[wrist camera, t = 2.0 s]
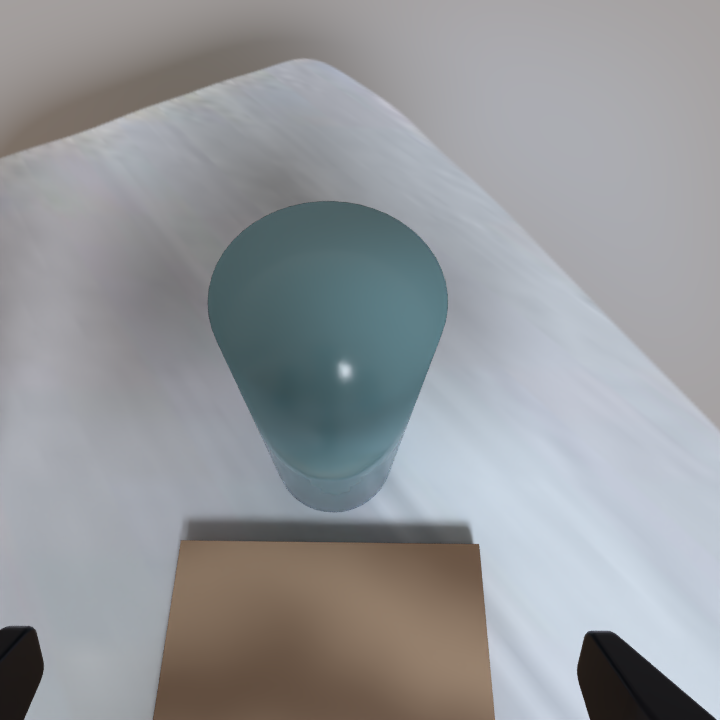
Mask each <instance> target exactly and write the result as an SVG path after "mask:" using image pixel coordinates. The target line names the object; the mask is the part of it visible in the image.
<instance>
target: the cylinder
mask: <svg viewBox="0 0 720 720" xmlns="http://www.w3.org/2000/svg"><path fill="white" fill-rule="evenodd" d="M447 309H448V294H447V288H446V282H445V279H444V276H443V273H442V270H441V267H440V265H439V263H438V261H437V259H436V257H435V256H434V254H433V253H432V251H431V250H430V248H429V247H428V246H427V245H426V244H425V242H424V241H423V240H422V239H421V238H420V237H419V236H418V235H417V234H416V233H415V232H414V231H412V230H411V229H410V228H409V227H407V226H406V225H404V224H403V223H402V222H400V221H399V220H397V219H395V218H393V217H391V216H389V215H388V214H385V213H383V212H380V211H378V210H376V209H373V208H369V207H366V206H362V205H358V204H353V203H347V202H335V201H320V202H310V203H303V204H299V205H294V206H290V207H287V208H284V209H281V210H278V211H276V212H273V213H271V214H269V215H267V216H265V217H263V218H261V219H260V220H258V221H256V222H255V223H253V224H252V225H250V226H249V227H248V228H246V229H245V230H244V231H242V232H241V233H240V234H239V235H238V236H237V237H236V238H235V239H234V240H233V241H232V242H231V244H230V245H229V246H228V247H227V249H226V250H225V251H224V253H223V254H222V256H221V258H220V259H219V261H218V263H217V265H216V267H215V270H214V272H213V275H212V278H211V282H210V286H209V293H208V313H209V319H210V323H211V328H212V331H213V333H214V336H215V338H216V340H217V343H218V345H219V347H220V349H221V351H222V353H223V356H224V358H225V360H226V362H227V364H228V366H229V368H230V371H231V373H232V375H233V377H234V379H235V381H236V383H237V385H238V388H239V390H240V392H241V394H242V396H243V398H244V400H245V402H246V405H247V407H248V409H249V411H250V413H251V415H252V417H253V420H254V422H255V424H256V426H257V428H258V430H259V432H260V434H261V437H262V439H263V441H264V443H265V445H266V447H267V449H268V452H269V454H270V456H271V458H272V460H273V462H274V464H275V466H276V469H277V471H278V473H279V475H280V477H281V479H282V481H283V483H284V485H285V486H286V488H287V489H288V491H289V492H290V493H291V494H292V495H293V496H294V497H295V498H296V499H297V500H299V501H300V502H301V503H303V504H305V505H306V506H308V507H310V508H313V509H316V510H320V511H324V512H343V511H348V510H351V509H354V508H357V507H359V506H361V505H363V504H364V503H366V502H367V501H369V500H370V499H371V498H372V497H374V496H375V495H376V494H377V492H378V491H379V490H380V489H381V487H382V486H383V484H384V483H385V481H386V479H387V477H388V474H389V472H390V469H391V466H392V464H393V461H394V458H395V456H396V453H397V450H398V448H399V445H400V443H401V440H402V437H403V435H404V432H405V429H406V427H407V424H408V422H409V419H410V416H411V414H412V411H413V408H414V406H415V403H416V400H417V398H418V395H419V393H420V390H421V387H422V385H423V382H424V379H425V377H426V374H427V372H428V369H429V366H430V364H431V361H432V358H433V356H434V353H435V350H436V348H437V345H438V343H439V340H440V337H441V335H442V331H443V328H444V325H445V322H446V316H447Z"/></svg>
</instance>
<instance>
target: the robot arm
mask: <svg viewBox="0 0 720 720" xmlns="http://www.w3.org/2000/svg"><path fill="white" fill-rule="evenodd" d="M43 669H44V662H43V657H42V653H41V649H40V645H39V641H38V636H37V632H36V630H35V629H34V628H33V627H31V626H8V627H5V628H3V629H1V630H0V720H24V718H25V716H26V713H27V711H28V709H29V707H30V704H31V702H32V700H33V697H34V695H35V693H36V690H37V688H38V686H39V683H40V681H41V678H42V675H43ZM577 675H578V681H579V685H580V688H581V691H582V695H583V698H584V701H585V705H586V708H587V711H588V714H589V718H590V720H716V719H715V718H714V717H713V716H712V715H711V714H709V713H708V712H707V711H706V710H705V709H704V708H702V707H701V706H700V705H699V704H698V703H696V702H695V701H694V700H693V699H692V698H691V697H689V696H688V695H687V694H686V693H685V692H684V691H682V690H681V689H680V688H679V687H678V686H677V685H675V684H674V683H673V682H672V681H671V680H669V679H668V678H667V677H666V676H665V675H664V674H662V673H661V672H660V671H659V670H658V669H657V668H655V667H654V666H653V665H652V664H651V663H650V662H648V661H647V660H646V659H645V658H644V657H642V656H641V655H640V654H639V653H638V652H637V651H635V650H634V649H633V648H632V647H631V646H630V645H628V644H627V643H626V642H625V641H624V640H623V639H621V638H620V637H619V636H618V635H616V634H615V633H613V632H611V631H588V632H587V633H586V634H585V637H584V640H583V645H582V649H581V653H580V657H579V662H578V666H577Z"/></svg>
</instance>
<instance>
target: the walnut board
mask: <svg viewBox="0 0 720 720" xmlns="http://www.w3.org/2000/svg"><path fill="white" fill-rule="evenodd" d="M153 720H495V715H494V704H493V693H492V682H491V671H490V660H489V649H488V638H487V627H486V615H485V604H484V593H483V582H482V571H481V560H480V549H479V544H426V543H349V542H272V541H195V540H181V544H180V550H179V557H178V563H177V569H176V576H175V582H174V589H173V595H172V601H171V608H170V614H169V620H168V627H167V633H166V640H165V646H164V652H163V659H162V665H161V672H160V678H159V684H158V691H157V697H156V704H155V710H154V716H153Z"/></svg>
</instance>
